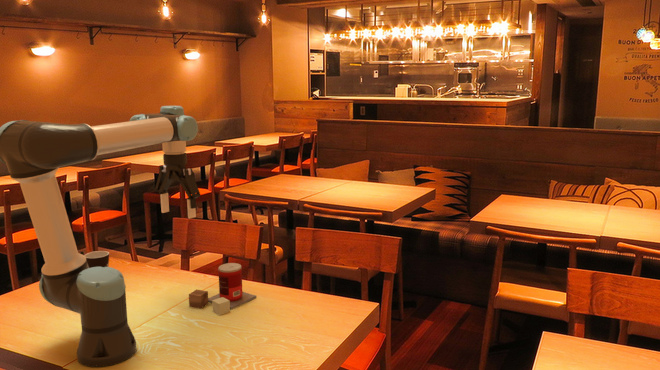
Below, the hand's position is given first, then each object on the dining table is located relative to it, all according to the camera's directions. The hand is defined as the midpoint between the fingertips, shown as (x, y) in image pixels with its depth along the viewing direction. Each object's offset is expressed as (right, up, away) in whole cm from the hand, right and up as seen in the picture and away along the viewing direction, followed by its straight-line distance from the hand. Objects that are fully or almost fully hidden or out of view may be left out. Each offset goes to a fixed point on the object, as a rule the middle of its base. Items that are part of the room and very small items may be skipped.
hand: (178, 214), depth 189 cm
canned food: (+18, -28, +1) cm, 34 cm away
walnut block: (+8, -30, -3) cm, 31 cm away
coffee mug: (-35, -25, +21) cm, 48 cm away
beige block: (+16, -31, -9) cm, 36 cm away
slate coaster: (+18, -29, +1) cm, 34 cm away
